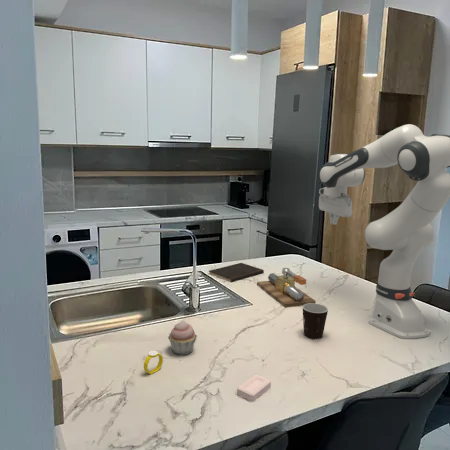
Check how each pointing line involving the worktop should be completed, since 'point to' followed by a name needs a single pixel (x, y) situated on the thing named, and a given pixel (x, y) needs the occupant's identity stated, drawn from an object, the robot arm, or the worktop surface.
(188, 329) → the cupcake
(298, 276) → the valve lever
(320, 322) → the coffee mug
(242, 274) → the hardcover book
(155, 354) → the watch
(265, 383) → the soap bar
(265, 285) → the mount board
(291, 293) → the valve body
